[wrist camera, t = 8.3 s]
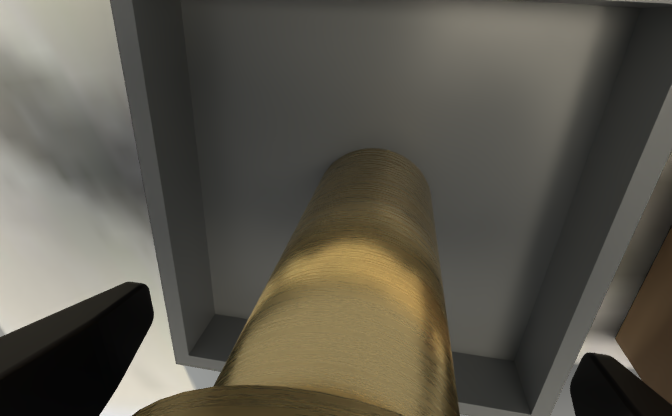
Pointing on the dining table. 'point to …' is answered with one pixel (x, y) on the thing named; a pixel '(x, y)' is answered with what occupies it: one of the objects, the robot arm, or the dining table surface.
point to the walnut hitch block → (652, 326)
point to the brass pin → (345, 309)
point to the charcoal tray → (414, 144)
